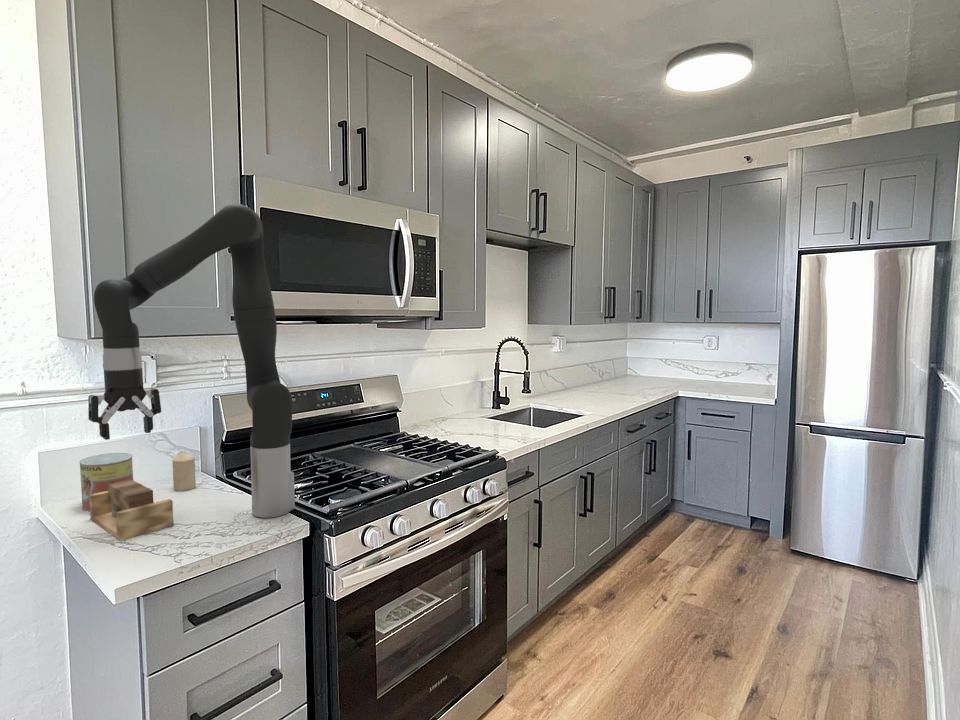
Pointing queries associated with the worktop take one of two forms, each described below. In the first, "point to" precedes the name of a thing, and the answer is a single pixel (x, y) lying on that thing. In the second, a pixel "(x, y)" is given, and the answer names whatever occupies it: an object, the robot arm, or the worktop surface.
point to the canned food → (103, 473)
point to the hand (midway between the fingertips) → (127, 435)
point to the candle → (184, 472)
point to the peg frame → (129, 516)
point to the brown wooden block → (129, 494)
